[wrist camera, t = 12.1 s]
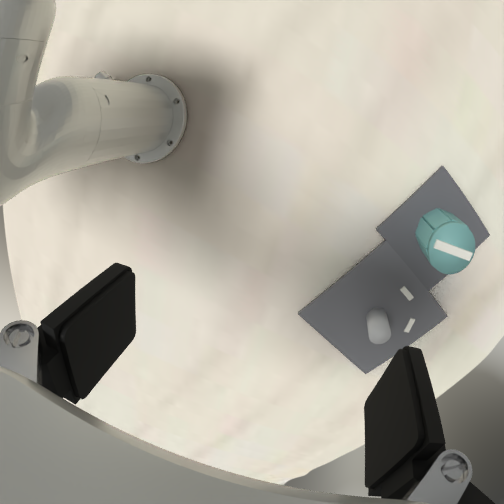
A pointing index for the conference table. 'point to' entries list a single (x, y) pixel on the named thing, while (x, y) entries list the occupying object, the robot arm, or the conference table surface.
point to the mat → (410, 212)
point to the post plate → (369, 294)
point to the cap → (445, 241)
